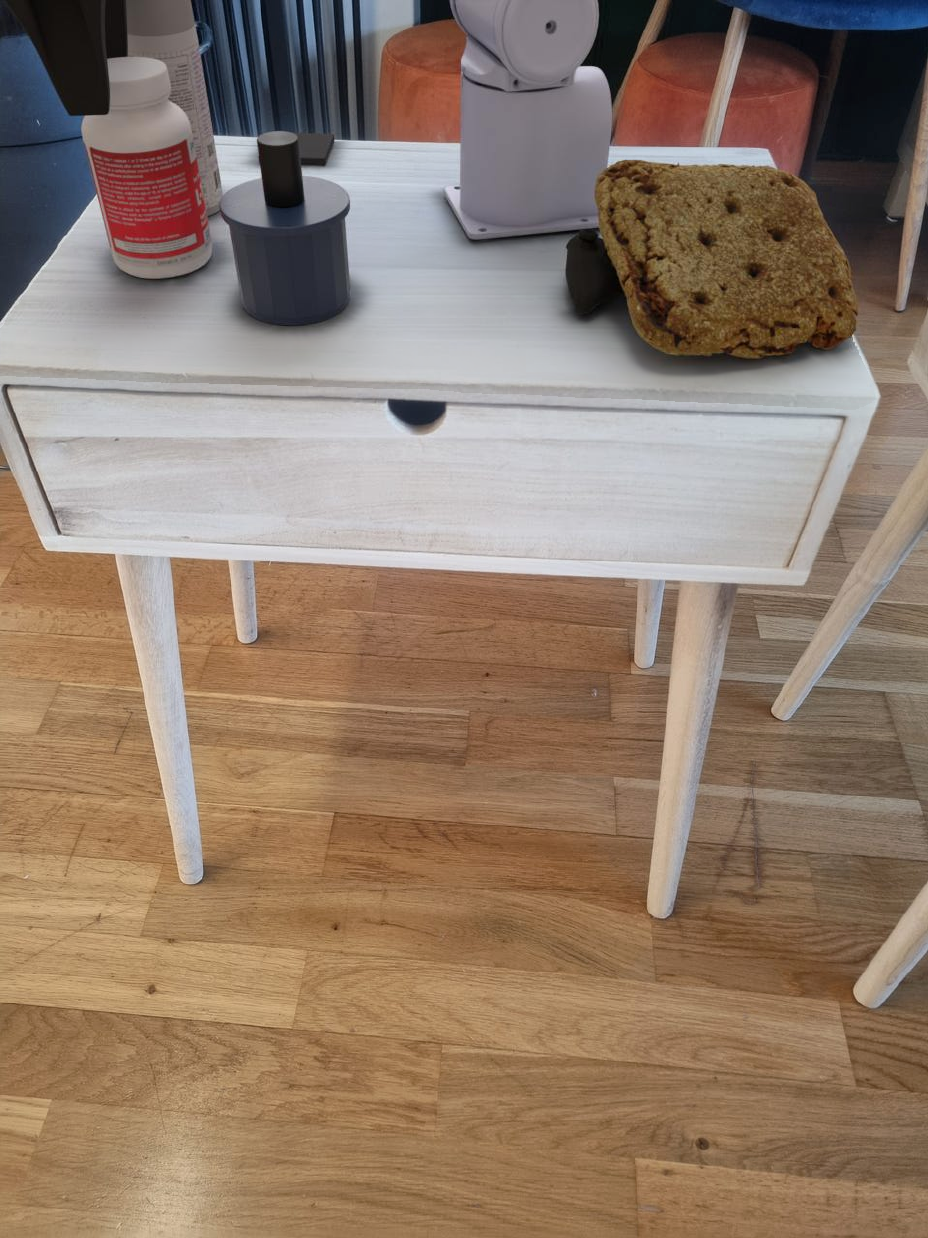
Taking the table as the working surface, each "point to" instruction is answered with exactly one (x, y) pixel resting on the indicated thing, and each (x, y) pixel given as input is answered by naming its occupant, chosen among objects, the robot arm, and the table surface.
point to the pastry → (724, 259)
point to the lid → (283, 194)
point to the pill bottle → (147, 174)
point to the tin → (293, 275)
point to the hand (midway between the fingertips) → (99, 89)
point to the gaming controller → (590, 272)
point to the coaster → (314, 147)
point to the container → (179, 75)
